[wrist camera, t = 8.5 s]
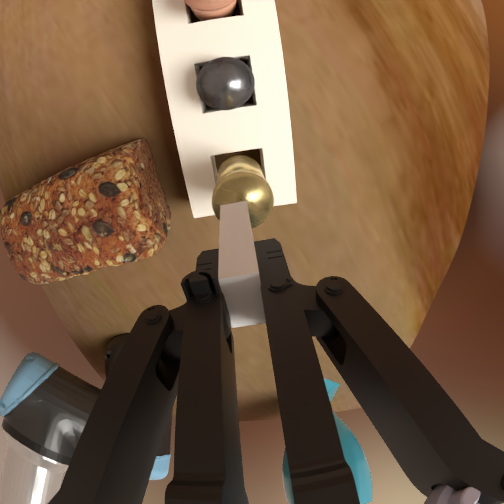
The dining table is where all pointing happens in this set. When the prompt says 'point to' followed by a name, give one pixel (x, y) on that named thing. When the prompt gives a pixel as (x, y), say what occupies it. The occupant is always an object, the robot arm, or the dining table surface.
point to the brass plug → (243, 188)
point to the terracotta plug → (211, 8)
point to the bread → (88, 216)
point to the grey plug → (225, 83)
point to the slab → (226, 121)
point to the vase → (351, 455)
